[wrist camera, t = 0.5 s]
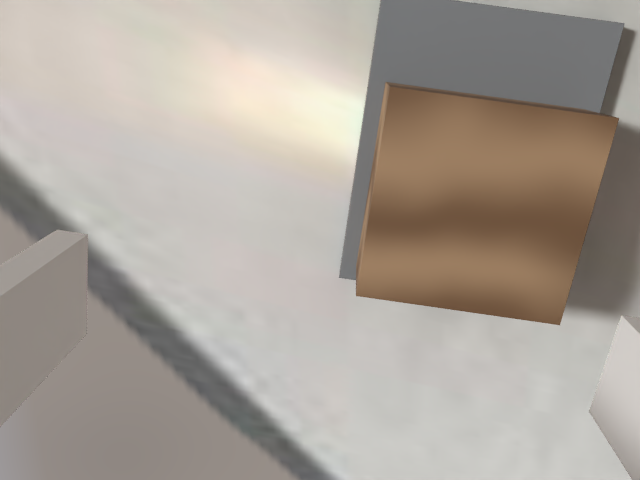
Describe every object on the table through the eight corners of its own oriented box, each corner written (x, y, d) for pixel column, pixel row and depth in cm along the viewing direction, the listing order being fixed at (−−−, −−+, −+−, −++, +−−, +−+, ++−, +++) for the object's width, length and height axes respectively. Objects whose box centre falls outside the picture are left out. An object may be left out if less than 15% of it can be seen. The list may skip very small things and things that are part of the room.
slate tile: (381, -8, 35) (382, -10, 34) (615, 24, 35) (624, 23, 34) (339, 271, 41) (339, 277, 39) (540, 300, 40) (546, 307, 39)
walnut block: (385, 81, 35) (390, 86, 31) (583, 109, 35) (619, 118, 30) (356, 266, 39) (356, 295, 34) (534, 291, 39) (559, 324, 34)
